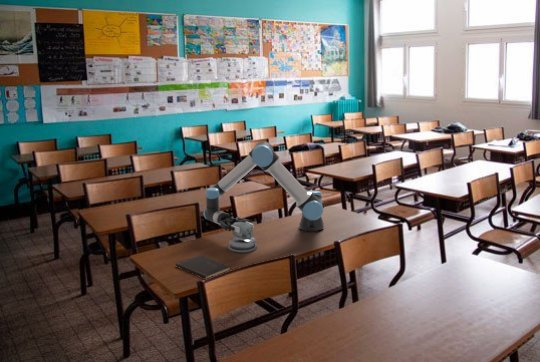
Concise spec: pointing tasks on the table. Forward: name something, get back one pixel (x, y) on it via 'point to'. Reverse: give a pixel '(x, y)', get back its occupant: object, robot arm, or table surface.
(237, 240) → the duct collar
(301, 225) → the robot arm
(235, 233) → the grey rounded block
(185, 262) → the hardcover book
